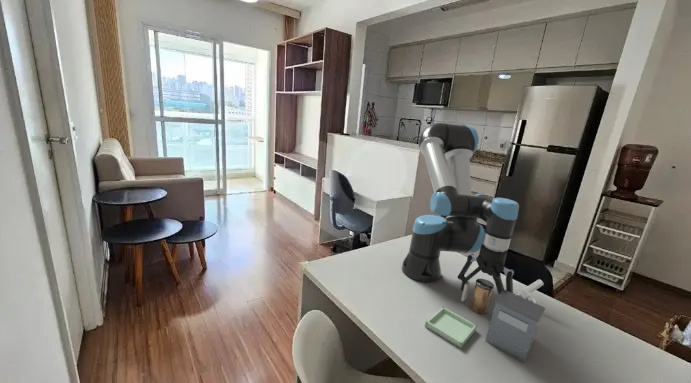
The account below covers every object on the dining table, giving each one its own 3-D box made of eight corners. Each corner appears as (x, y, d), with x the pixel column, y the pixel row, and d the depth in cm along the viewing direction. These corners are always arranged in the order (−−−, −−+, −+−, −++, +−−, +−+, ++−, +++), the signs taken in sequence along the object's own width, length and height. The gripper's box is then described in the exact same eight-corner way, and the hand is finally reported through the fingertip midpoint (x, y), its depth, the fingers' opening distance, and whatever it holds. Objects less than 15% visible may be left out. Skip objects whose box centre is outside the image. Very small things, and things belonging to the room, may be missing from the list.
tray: (424, 326, 88) (425, 321, 87) (441, 311, 95) (442, 306, 95) (460, 348, 80) (461, 343, 80) (475, 330, 88) (477, 325, 88)
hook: (560, 299, 100) (550, 290, 98) (529, 318, 104) (519, 310, 101) (545, 283, 107) (535, 274, 104) (517, 301, 111) (507, 293, 108)
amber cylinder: (467, 308, 99) (473, 282, 96) (473, 302, 102) (479, 276, 100) (483, 316, 95) (490, 289, 92) (489, 310, 99) (496, 284, 96)
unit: (483, 340, 85) (495, 299, 81) (492, 328, 90) (503, 289, 86) (524, 364, 78) (539, 320, 74) (531, 349, 83) (545, 307, 79)
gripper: (455, 237, 97) (442, 295, 103) (531, 265, 83) (511, 331, 89) (464, 232, 103) (452, 287, 109) (537, 257, 88) (518, 320, 94)
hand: (478, 307), depth 99 cm, fingers open, 10 cm apart
